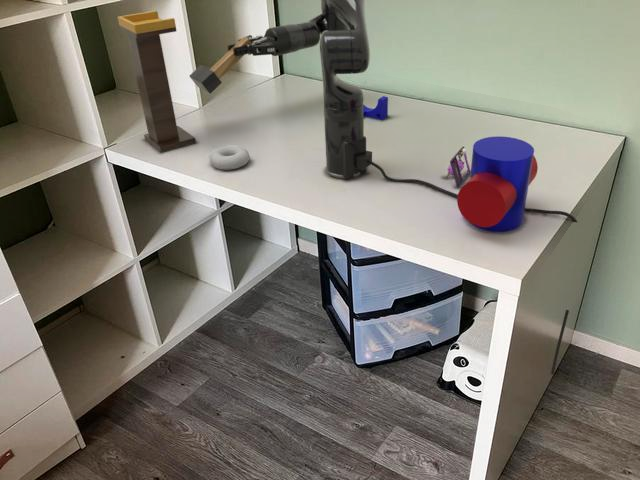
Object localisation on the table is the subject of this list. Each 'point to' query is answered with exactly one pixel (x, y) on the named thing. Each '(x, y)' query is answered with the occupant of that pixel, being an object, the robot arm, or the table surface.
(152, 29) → the mustard tray
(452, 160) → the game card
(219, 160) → the donut
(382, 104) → the blue curved block
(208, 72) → the toy hammer
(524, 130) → the table surface
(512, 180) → the blue red crossed cylinders
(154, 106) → the walnut stand
